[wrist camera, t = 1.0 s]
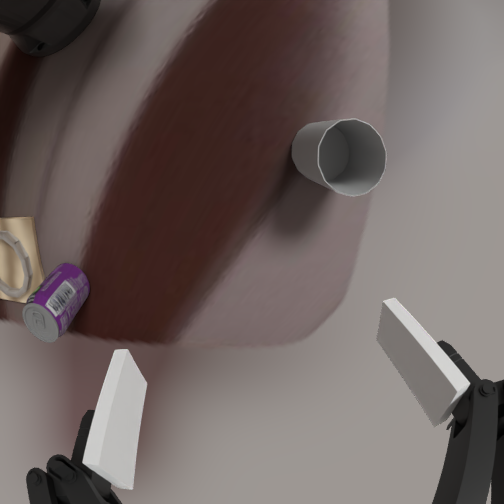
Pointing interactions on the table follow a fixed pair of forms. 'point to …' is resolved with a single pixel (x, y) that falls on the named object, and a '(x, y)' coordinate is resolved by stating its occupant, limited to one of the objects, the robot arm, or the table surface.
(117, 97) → the table surface
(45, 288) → the beverage can
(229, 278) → the table surface
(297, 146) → the cup
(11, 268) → the ring board
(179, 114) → the table surface
